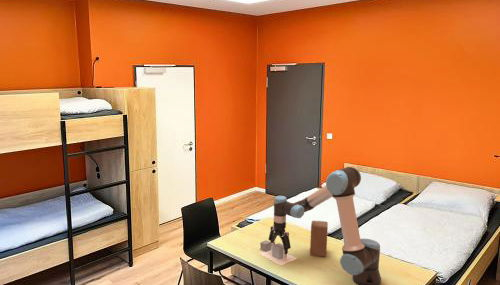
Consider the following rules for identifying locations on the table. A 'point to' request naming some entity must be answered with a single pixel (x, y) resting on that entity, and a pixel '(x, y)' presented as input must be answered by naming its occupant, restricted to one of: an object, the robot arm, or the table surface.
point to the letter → (280, 261)
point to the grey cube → (265, 245)
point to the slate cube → (277, 251)
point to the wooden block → (318, 238)
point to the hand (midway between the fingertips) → (279, 255)
